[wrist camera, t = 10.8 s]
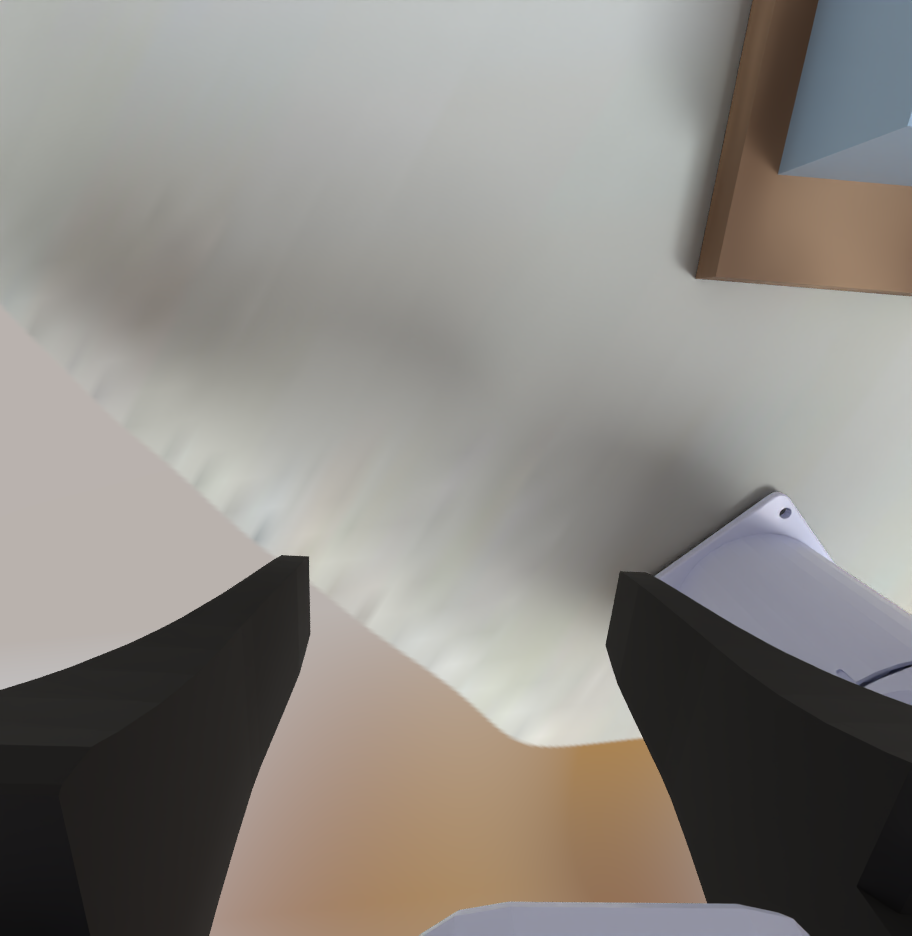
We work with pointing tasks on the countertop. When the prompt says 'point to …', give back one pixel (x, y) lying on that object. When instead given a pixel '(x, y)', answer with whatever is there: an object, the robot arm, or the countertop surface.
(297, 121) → the countertop surface
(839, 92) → the collar
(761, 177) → the stub board
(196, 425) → the countertop surface
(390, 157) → the countertop surface
